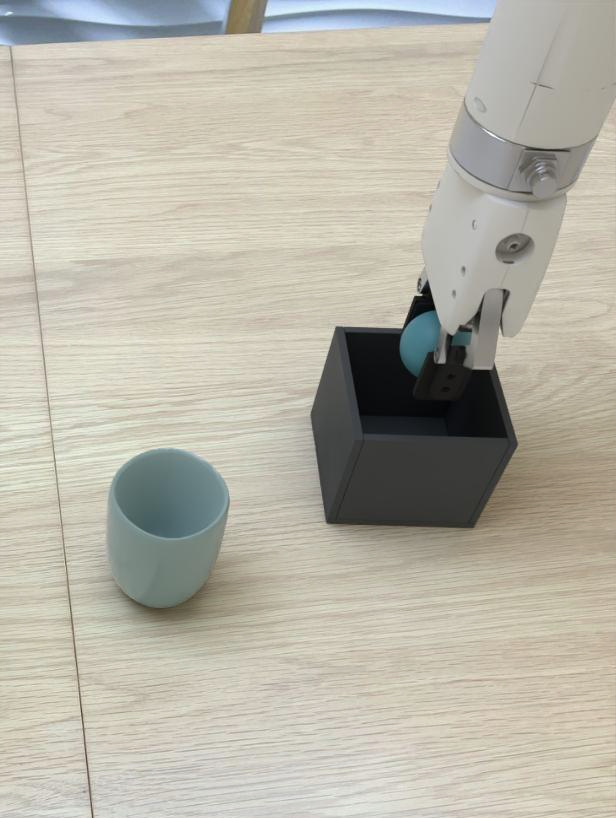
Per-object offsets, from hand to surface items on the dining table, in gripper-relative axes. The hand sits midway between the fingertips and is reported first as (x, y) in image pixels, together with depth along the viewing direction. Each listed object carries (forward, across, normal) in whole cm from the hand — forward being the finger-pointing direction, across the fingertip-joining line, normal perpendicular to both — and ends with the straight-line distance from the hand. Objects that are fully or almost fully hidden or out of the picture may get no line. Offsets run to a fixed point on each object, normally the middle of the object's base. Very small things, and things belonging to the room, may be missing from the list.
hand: (429, 366), depth 77 cm
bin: (+11, 0, 0) cm, 11 cm away
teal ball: (-2, 0, 0) cm, 2 cm away
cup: (+11, -11, +18) cm, 24 cm away
